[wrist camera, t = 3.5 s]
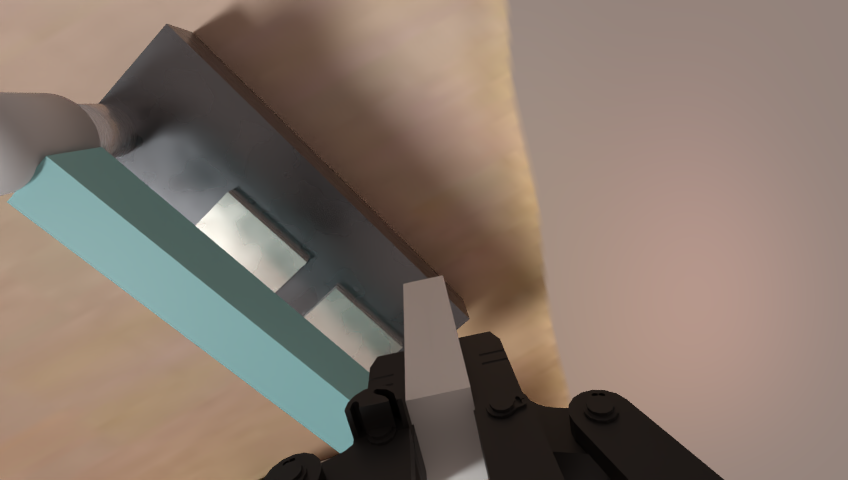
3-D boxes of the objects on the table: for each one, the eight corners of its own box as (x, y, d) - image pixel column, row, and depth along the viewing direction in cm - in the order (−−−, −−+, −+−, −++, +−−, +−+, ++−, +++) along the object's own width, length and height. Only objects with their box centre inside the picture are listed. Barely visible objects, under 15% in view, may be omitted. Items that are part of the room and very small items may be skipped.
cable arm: (-7, 134, 17) (-108, 144, 13) (42, 74, 16) (-50, 67, 13) (385, 445, 22) (383, 505, 19) (431, 407, 22) (437, 463, 18)
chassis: (54, 184, 23) (-45, 209, 18) (188, 28, 21) (122, 6, 16) (336, 407, 28) (323, 476, 23) (462, 299, 26) (479, 347, 21)
